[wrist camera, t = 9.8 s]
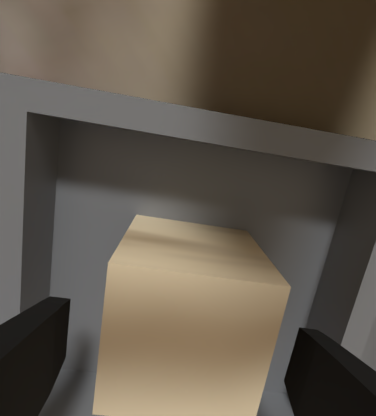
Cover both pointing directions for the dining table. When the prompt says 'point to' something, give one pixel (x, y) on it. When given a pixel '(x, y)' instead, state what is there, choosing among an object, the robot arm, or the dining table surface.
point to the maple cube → (187, 322)
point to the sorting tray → (178, 213)
